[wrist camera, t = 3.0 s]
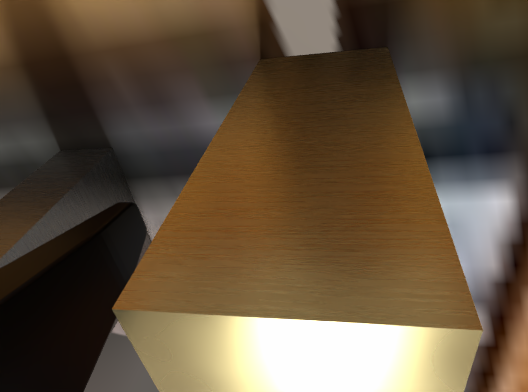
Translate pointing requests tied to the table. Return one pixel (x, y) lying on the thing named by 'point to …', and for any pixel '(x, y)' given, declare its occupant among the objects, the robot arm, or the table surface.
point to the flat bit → (60, 200)
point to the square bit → (306, 247)
